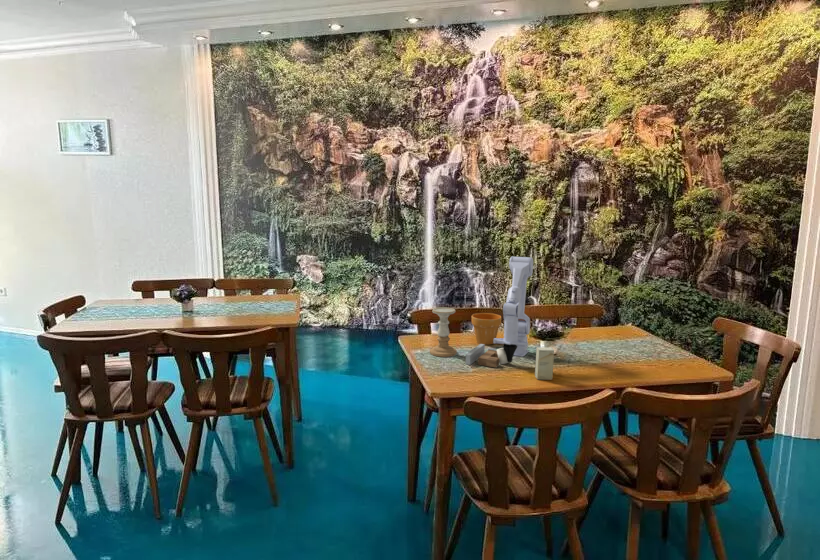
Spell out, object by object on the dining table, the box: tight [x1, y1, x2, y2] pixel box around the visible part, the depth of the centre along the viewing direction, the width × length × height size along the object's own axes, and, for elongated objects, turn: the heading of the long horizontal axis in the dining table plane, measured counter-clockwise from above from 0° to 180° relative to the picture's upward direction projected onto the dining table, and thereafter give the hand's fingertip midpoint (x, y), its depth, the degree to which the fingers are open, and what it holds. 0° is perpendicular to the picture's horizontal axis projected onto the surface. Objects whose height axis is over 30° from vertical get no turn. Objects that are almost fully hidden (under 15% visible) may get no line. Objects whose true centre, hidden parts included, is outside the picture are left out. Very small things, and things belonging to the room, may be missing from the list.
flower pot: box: [471, 312, 502, 346], centre depth 285 cm, size 14×14×13 cm
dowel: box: [496, 347, 509, 365], centre depth 253 cm, size 4×4×6 cm
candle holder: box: [429, 306, 458, 358], centre depth 267 cm, size 12×12×20 cm
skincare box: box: [534, 346, 555, 381], centre depth 235 cm, size 6×4×12 cm
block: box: [477, 349, 500, 368], centre depth 256 cm, size 14×8×3 cm, turn 153°
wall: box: [465, 343, 486, 366], centre depth 260 cm, size 18×2×4 cm, turn 153°
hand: (509, 361), depth 252 cm, fingers closed
